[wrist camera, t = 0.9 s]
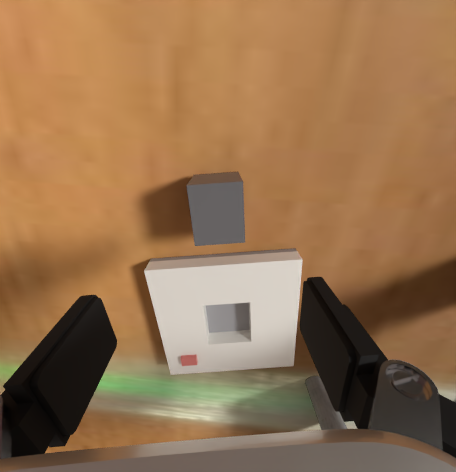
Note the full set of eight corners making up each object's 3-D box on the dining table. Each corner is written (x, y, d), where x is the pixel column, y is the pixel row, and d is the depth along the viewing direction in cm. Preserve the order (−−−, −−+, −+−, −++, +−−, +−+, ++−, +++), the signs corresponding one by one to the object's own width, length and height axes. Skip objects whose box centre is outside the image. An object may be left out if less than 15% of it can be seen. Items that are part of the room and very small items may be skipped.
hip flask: (303, 379, 42) (366, 562, 24) (324, 372, 42) (404, 556, 23) (324, 421, 48) (387, 593, 30) (342, 416, 48) (418, 588, 30)
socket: (295, 248, 31) (304, 261, 27) (288, 349, 39) (294, 369, 36) (150, 258, 31) (142, 273, 27) (174, 358, 39) (170, 378, 36)
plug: (237, 170, 26) (242, 181, 20) (239, 218, 29) (245, 242, 22) (195, 173, 26) (186, 185, 20) (200, 220, 29) (194, 245, 22)
